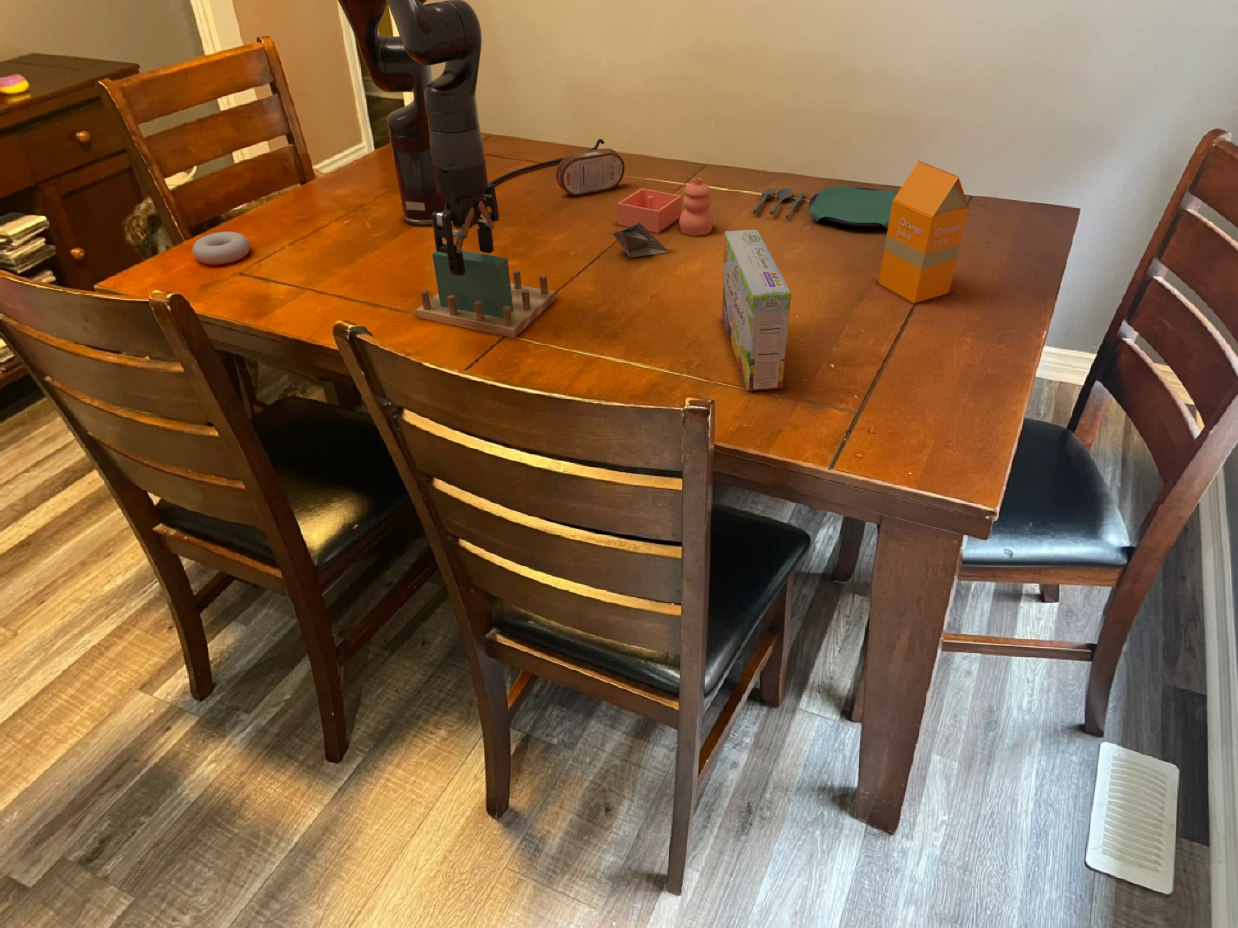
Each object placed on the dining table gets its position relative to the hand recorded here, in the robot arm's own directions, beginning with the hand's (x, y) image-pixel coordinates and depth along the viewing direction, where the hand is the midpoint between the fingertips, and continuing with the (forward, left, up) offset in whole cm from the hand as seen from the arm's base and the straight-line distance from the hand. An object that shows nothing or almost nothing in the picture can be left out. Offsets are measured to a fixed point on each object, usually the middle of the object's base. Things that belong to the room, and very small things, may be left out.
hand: (472, 262), depth 133 cm
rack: (-3, 0, -9) cm, 10 cm away
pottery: (-47, +15, -9) cm, 50 cm away
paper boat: (-31, +15, -9) cm, 35 cm away
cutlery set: (-65, +43, -9) cm, 78 cm away
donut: (-3, -57, -9) cm, 58 cm away
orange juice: (-36, +63, -9) cm, 73 cm away
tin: (-58, -7, -9) cm, 59 cm away
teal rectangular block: (0, 0, -8) cm, 8 cm away
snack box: (-5, +44, -9) cm, 45 cm away
